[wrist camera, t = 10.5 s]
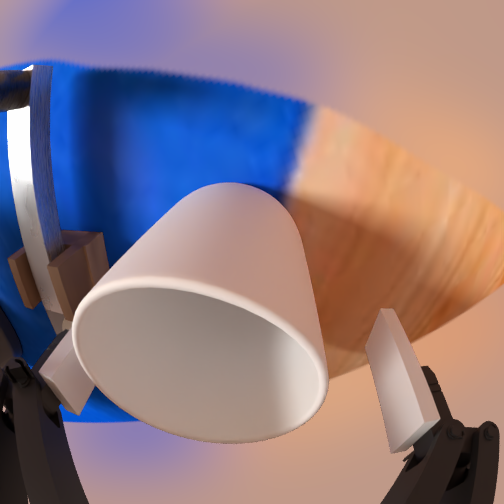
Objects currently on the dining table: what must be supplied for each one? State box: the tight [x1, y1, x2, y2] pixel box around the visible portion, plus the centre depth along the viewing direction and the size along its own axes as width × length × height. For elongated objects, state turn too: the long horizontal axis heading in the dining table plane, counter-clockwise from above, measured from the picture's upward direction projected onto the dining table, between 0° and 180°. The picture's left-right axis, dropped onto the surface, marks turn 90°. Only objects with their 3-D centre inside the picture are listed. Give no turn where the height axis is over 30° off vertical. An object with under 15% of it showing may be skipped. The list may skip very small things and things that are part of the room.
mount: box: [7, 230, 110, 322], centre depth 15 cm, size 6×4×5 cm, turn 87°
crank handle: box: [0, 65, 65, 314], centre depth 9 cm, size 2×16×8 cm, turn 177°
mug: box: [72, 183, 329, 444], centre depth 13 cm, size 12×8×10 cm
